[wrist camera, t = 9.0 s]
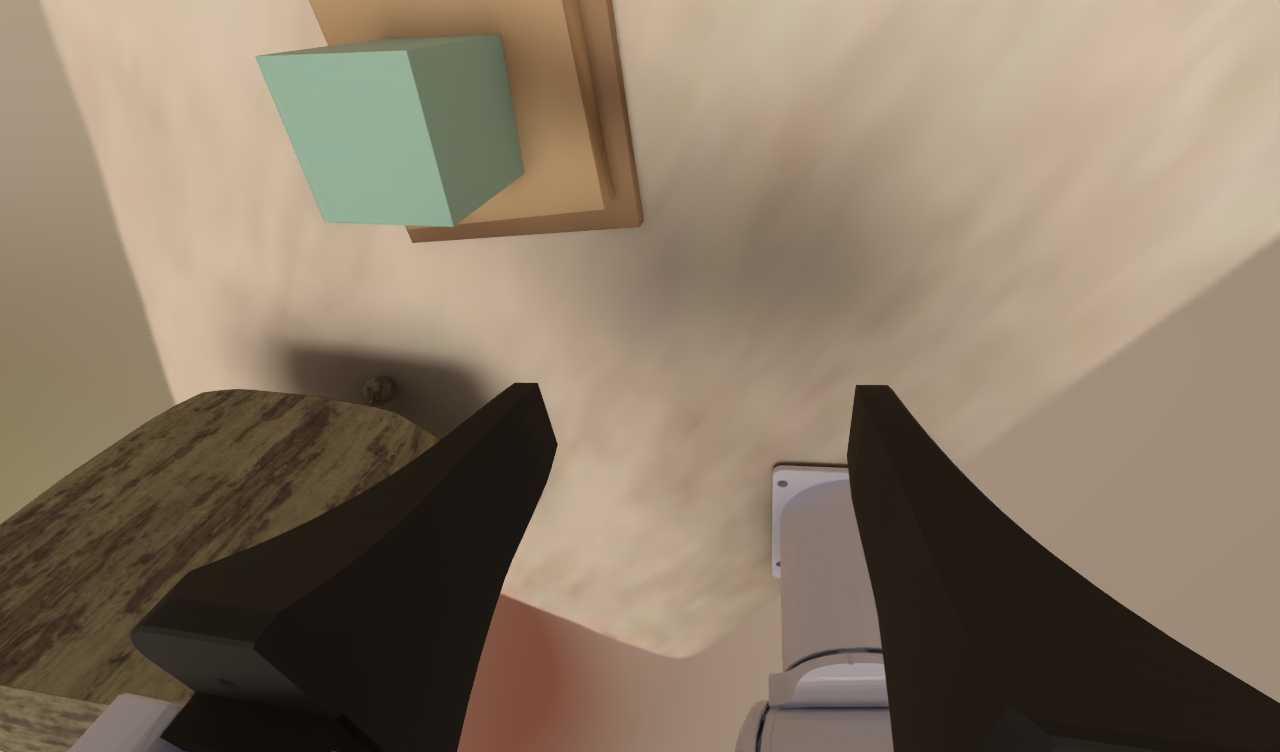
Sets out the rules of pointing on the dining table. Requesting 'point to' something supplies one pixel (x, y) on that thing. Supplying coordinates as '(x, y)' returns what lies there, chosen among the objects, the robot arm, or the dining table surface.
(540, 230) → the bottom slab
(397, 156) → the block
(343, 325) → the dining table surface
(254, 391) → the tabletop clock
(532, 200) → the top slab
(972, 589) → the robot arm
